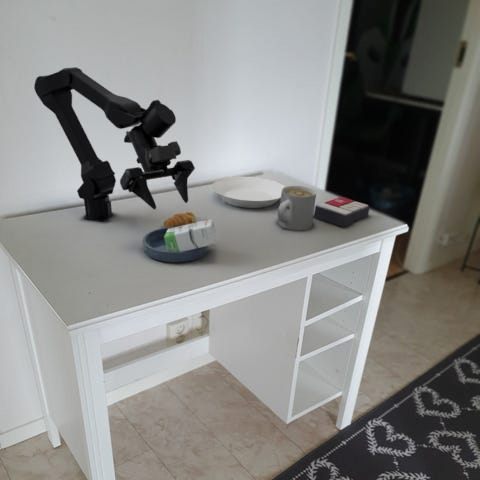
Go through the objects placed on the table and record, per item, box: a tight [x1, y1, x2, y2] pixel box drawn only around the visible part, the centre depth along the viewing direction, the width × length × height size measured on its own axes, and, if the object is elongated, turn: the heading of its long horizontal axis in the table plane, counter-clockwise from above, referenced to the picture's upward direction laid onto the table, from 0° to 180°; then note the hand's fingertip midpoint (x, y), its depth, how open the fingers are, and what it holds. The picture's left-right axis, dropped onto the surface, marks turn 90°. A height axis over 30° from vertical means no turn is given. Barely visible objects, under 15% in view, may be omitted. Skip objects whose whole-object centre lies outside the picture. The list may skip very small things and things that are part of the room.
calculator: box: [313, 196, 370, 228], centre depth 152 cm, size 11×4×15 cm
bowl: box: [211, 176, 286, 209], centre depth 162 cm, size 25×25×4 cm
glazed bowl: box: [142, 227, 209, 264], centre depth 125 cm, size 16×16×3 cm
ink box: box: [164, 218, 217, 252], centre depth 121 cm, size 9×5×12 cm
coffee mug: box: [277, 185, 317, 231], centre depth 142 cm, size 13×10×10 cm
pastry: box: [162, 211, 198, 228], centre depth 138 cm, size 9×7×4 cm
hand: (171, 205), depth 121 cm, fingers open, 9 cm apart
